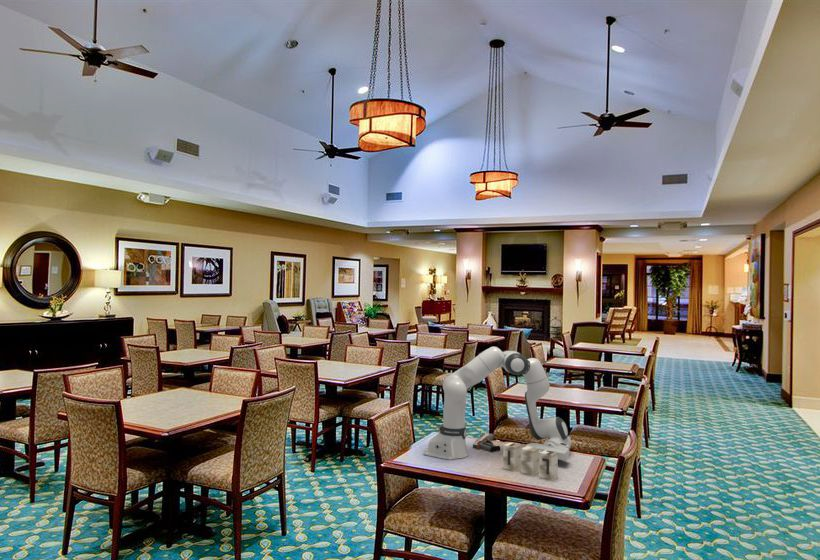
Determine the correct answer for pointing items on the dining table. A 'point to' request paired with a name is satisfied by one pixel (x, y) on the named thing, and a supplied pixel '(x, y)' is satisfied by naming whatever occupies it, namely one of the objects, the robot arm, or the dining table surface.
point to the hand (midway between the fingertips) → (540, 455)
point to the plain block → (530, 460)
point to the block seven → (548, 465)
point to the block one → (512, 456)
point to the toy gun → (486, 443)
